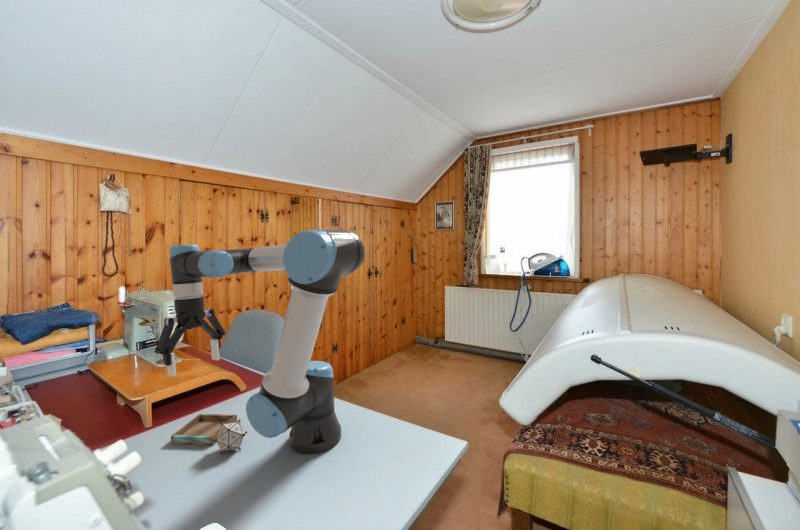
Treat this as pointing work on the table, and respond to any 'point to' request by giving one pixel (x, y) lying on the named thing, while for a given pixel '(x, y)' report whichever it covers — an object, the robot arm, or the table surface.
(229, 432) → the game die
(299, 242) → the robot arm
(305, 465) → the table surface
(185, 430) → the brown wooden tray
